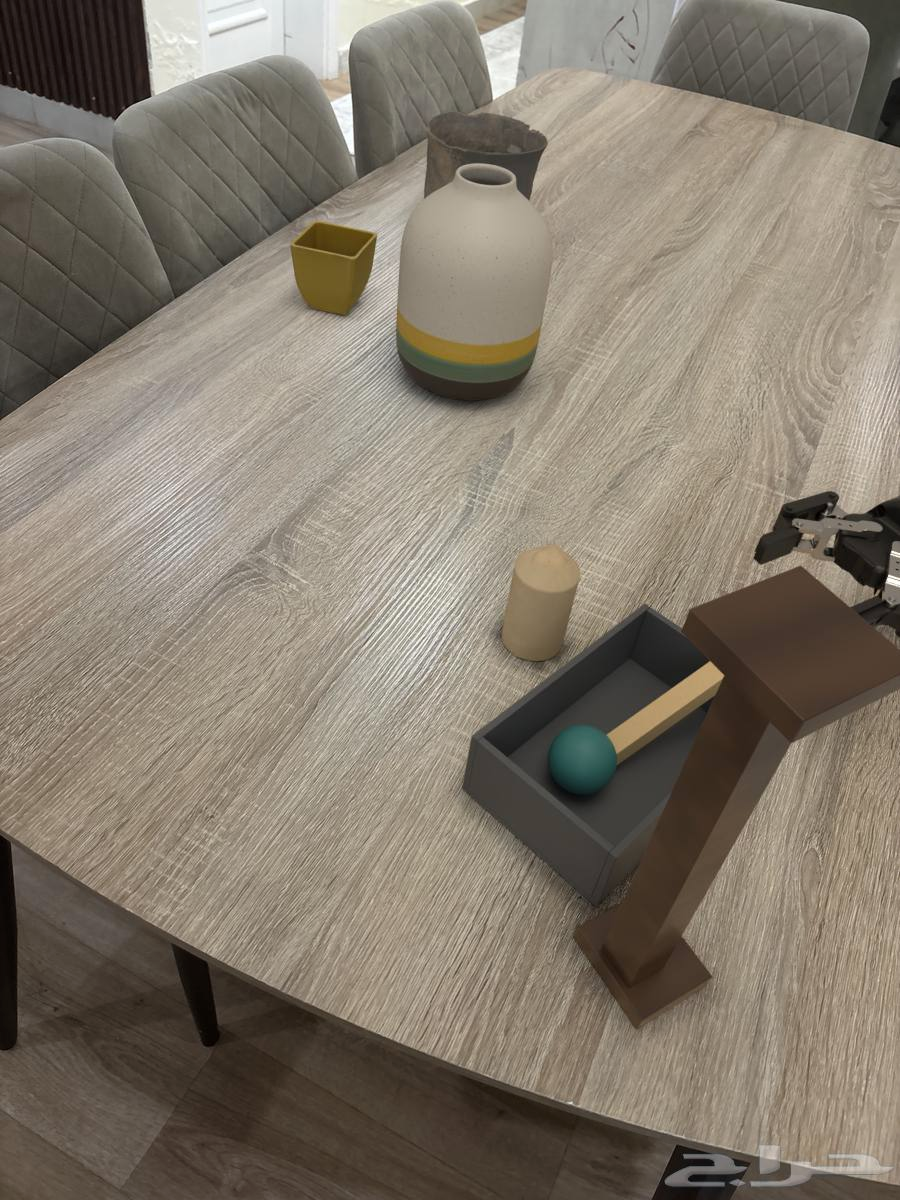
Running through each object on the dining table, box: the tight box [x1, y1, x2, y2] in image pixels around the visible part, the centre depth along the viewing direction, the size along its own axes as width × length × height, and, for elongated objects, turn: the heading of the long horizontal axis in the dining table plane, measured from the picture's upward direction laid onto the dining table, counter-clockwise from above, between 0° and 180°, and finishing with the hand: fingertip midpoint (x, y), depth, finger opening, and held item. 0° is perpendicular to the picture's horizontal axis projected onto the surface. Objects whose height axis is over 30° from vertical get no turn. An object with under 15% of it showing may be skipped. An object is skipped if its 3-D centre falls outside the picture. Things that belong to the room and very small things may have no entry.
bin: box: [461, 603, 715, 908], centre depth 72 cm, size 13×21×7 cm, turn 135°
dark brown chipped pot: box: [423, 111, 549, 202], centre depth 140 cm, size 18×18×15 cm
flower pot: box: [289, 220, 378, 316], centre depth 122 cm, size 9×9×9 cm
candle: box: [501, 544, 581, 662], centre depth 80 cm, size 6×6×10 cm
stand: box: [573, 565, 900, 1030], centre depth 52 cm, size 7×7×32 cm
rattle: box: [548, 662, 724, 795], centre depth 71 cm, size 5×17×5 cm, turn 120°
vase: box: [395, 163, 554, 401], centre depth 107 cm, size 17×17×24 cm
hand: (798, 587), depth 71 cm, fingers open, 8 cm apart
